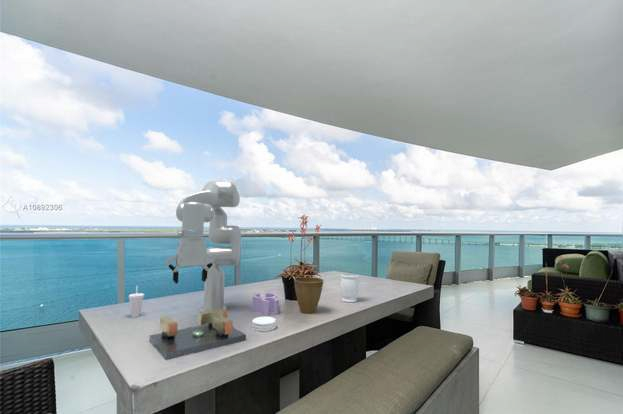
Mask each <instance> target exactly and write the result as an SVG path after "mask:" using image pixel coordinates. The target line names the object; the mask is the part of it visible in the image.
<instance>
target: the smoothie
mask: <svg viewBox="0 0 623 414" xmlns="http://www.w3.org/2000/svg"><path fill="white" fill-rule="evenodd" d="M138 288H139V285H136V287H135V290H136V291H135V293H130V294H129V295H128V299H129V313H130V317H131V318H138V317H140V316H141V312H142V307H143V301H144V297H145V293H142V292H140V293H139V292H138Z"/></svg>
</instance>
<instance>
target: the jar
mask: <svg viewBox="0 0 623 414" xmlns="http://www.w3.org/2000/svg"><path fill="white" fill-rule="evenodd" d="M340 277H341V279H340V290H341V291H340V292H341V295H342V299H341V301H342V302H345V303H355V302H357V301H358V299H357V297H358V295H359V289H360V283H359V282H360V281H359V280H360V279H359V278H360V275H359V274H357V273H341V274H340Z"/></svg>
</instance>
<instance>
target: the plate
mask: <svg viewBox="0 0 623 414" xmlns="http://www.w3.org/2000/svg"><path fill="white" fill-rule="evenodd" d="M246 340H247V334H245V333H244V332H242V331H241V330H239V329H237V328H235V327H233V326H232V333H231V334H228V335H226V336H217V335H216V329H215V328H213V327H210V326H208V324H204V325H196V326H192V327H186V328H182V329H177V335H175V336H174V337H171V338H163V337H162V332H161V333H160V332H159V333H155V334H152V335H149V342H150V343H151V345H152V346H153V348H155V349H156V350H157V352H159V354H160V355H161V357H163V358H164V359H165V360H171V359H174V358H178V357H181V356H182V357H183V356H186V355H187V356H188V355H191V354H195V353H199V352H203V351H207V350H210V349H211V350H212V349H215V348H219V347H223V346H226V345H230V344H234V343H235V344H236V343H239V342H242V341H243V342H244V341H246Z"/></svg>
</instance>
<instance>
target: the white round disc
mask: <svg viewBox="0 0 623 414" xmlns="http://www.w3.org/2000/svg"><path fill="white" fill-rule="evenodd" d="M251 323H252V324H251V329H252V330H253V331H255V332H256V331H257V332H265V333H266V332H271V331H273V330H276V327H277V319H276V318H274V317H273V316H258V317H255V318H253V319H252V321H251Z"/></svg>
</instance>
